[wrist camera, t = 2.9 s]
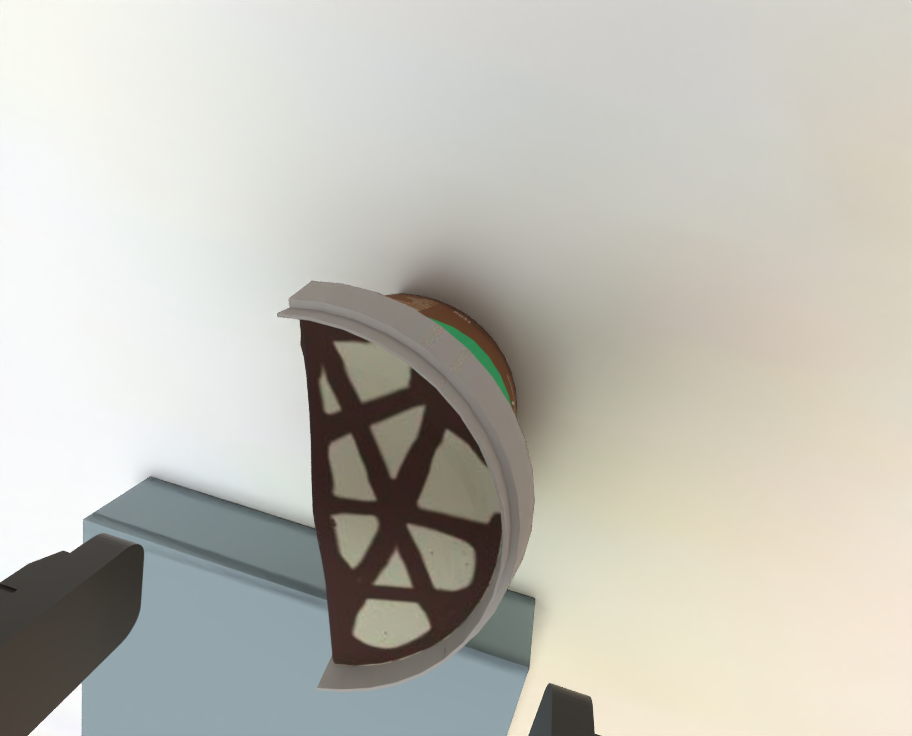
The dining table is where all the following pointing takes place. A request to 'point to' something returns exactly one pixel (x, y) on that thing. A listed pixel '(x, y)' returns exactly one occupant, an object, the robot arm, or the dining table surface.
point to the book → (268, 637)
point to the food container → (409, 478)
